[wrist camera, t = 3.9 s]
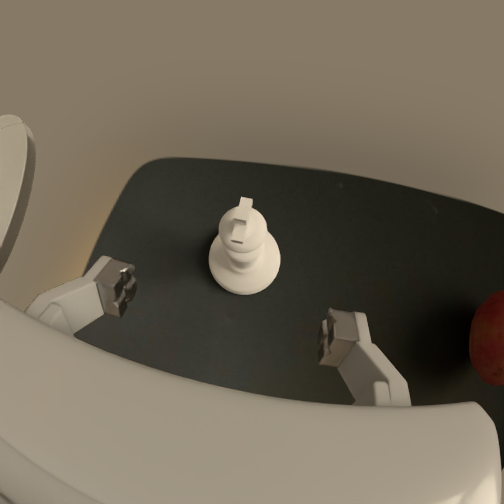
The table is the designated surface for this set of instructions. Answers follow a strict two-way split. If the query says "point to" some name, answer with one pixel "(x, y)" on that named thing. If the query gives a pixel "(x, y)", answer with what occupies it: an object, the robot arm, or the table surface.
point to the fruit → (488, 340)
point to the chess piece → (244, 251)
